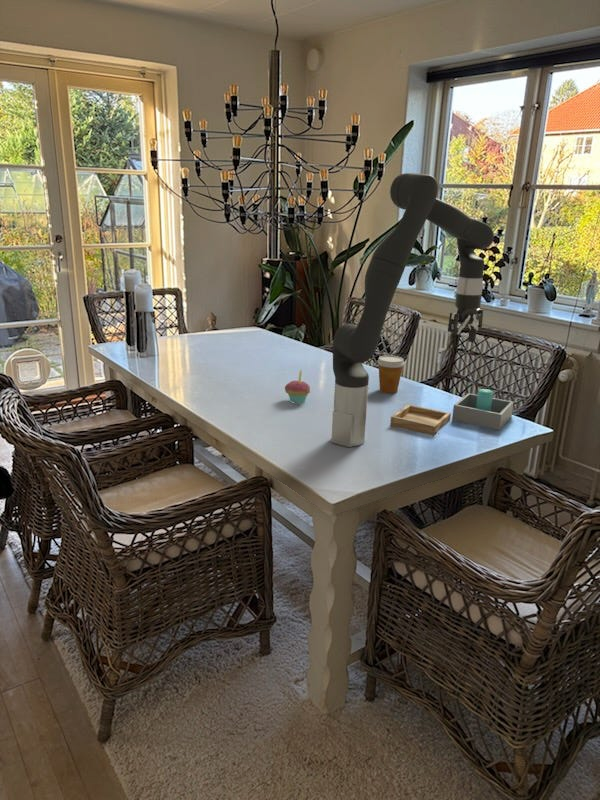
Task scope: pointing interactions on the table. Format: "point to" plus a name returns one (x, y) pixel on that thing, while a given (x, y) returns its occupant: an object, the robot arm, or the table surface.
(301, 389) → the cupcake
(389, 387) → the disposable coffee cup
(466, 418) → the deep bin
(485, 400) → the peg
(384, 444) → the table surface
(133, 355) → the table surface
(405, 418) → the tray
